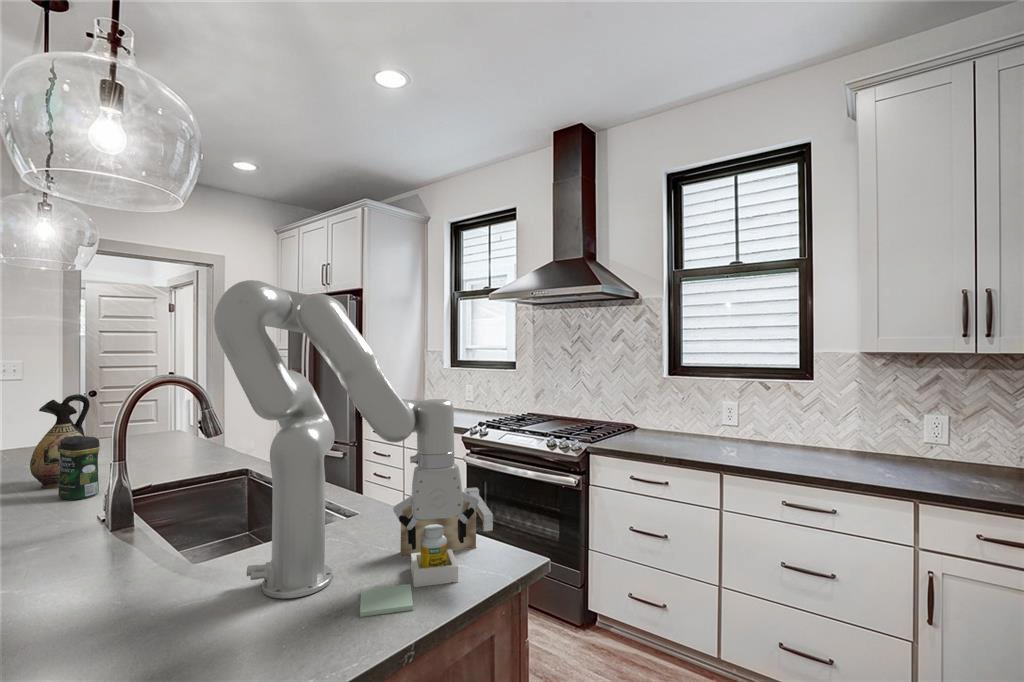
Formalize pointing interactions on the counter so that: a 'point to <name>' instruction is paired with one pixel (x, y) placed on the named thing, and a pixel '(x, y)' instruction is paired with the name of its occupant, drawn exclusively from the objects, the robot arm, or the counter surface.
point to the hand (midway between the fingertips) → (437, 543)
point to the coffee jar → (78, 467)
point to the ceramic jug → (56, 440)
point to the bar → (482, 509)
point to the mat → (386, 600)
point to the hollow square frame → (433, 571)
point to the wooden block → (449, 533)
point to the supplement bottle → (433, 547)
